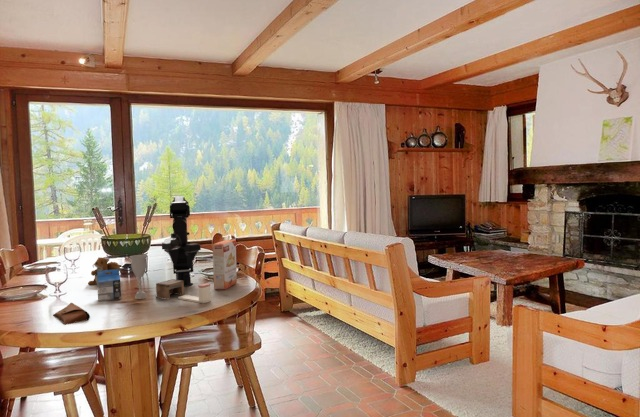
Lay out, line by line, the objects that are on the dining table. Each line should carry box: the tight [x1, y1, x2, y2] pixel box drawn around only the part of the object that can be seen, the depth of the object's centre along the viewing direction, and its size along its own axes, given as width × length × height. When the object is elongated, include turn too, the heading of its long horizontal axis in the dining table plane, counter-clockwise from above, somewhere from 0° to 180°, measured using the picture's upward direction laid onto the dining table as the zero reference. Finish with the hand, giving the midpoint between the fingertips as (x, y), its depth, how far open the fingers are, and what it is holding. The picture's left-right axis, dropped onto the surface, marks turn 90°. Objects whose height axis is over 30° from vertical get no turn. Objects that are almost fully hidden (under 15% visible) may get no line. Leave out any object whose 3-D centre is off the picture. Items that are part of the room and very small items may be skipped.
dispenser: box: [155, 278, 185, 300], centre depth 195 cm, size 7×9×6 cm
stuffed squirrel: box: [87, 257, 121, 286], centre depth 224 cm, size 10×14×13 cm
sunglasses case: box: [52, 302, 91, 325], centre depth 168 cm, size 18×7×7 cm, turn 45°
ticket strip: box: [177, 283, 212, 304], centre depth 187 cm, size 15×4×7 cm, turn 57°
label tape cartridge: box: [96, 269, 122, 302], centre depth 192 cm, size 9×4×12 cm, turn 117°
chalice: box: [129, 254, 148, 300], centre depth 193 cm, size 7×7×18 cm
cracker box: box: [212, 239, 238, 290], centre depth 210 cm, size 14×6×21 cm, turn 168°
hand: (181, 266), depth 196 cm, fingers open, 9 cm apart
